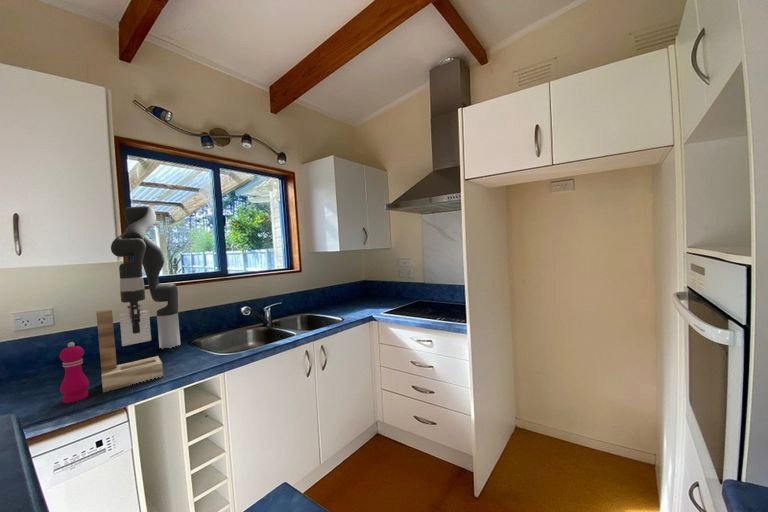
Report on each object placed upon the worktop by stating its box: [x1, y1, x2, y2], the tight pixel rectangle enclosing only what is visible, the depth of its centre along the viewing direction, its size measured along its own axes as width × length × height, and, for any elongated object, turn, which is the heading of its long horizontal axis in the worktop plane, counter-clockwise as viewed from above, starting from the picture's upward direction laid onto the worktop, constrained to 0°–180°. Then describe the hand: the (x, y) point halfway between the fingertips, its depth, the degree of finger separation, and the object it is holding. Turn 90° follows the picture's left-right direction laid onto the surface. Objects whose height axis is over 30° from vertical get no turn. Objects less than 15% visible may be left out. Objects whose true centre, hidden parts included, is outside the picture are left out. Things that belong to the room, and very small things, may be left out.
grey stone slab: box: [118, 309, 152, 347], centre depth 125 cm, size 3×9×12 cm, turn 133°
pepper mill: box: [59, 341, 90, 404], centre depth 109 cm, size 7×7×20 cm
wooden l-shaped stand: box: [96, 309, 164, 393], centre depth 123 cm, size 12×18×28 cm, turn 132°
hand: (136, 332), depth 125 cm, fingers closed on grey stone slab, 3 cm apart
